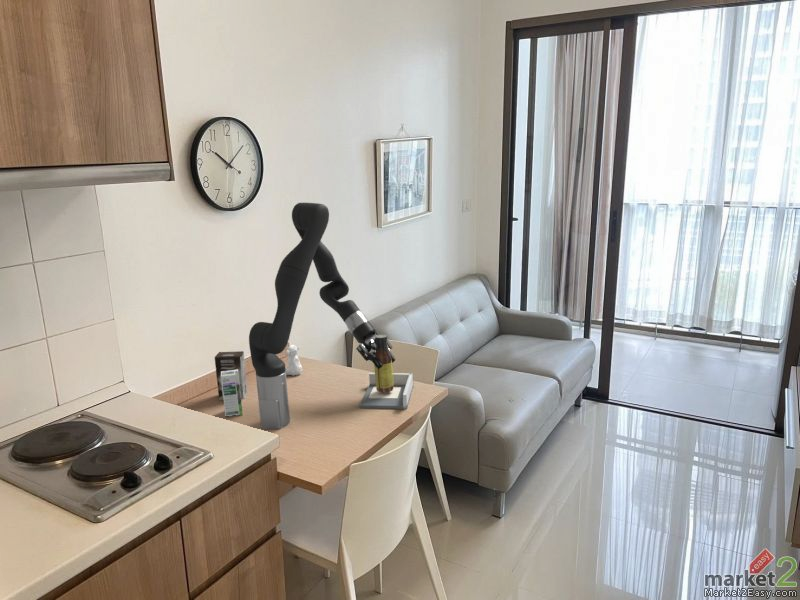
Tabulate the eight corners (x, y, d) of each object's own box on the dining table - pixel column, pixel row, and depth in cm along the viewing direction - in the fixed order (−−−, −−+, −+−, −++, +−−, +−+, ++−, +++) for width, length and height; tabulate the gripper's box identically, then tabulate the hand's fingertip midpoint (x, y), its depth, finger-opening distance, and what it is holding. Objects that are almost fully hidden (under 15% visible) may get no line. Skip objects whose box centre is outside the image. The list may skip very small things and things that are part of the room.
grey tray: (406, 408, 198) (406, 394, 197) (359, 407, 200) (359, 394, 199) (413, 386, 217) (412, 373, 216) (370, 385, 219) (369, 372, 218)
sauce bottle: (397, 389, 210) (395, 335, 205) (386, 394, 205) (384, 339, 200) (382, 385, 213) (380, 332, 209) (371, 391, 209) (369, 337, 204)
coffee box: (218, 400, 211) (213, 357, 207) (223, 393, 217) (218, 351, 213) (244, 399, 211) (239, 356, 207) (248, 392, 217) (243, 350, 214)
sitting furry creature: (296, 367, 241) (293, 339, 239) (310, 372, 236) (307, 343, 233) (277, 374, 235) (274, 345, 232) (291, 379, 229) (288, 349, 226)
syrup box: (224, 417, 196) (220, 376, 193) (225, 410, 202) (220, 370, 198) (242, 415, 198) (238, 374, 194) (242, 408, 203) (238, 368, 200)
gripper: (351, 325, 202) (379, 364, 198) (378, 316, 213) (405, 352, 209) (341, 338, 207) (368, 376, 203) (367, 328, 218) (394, 364, 214)
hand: (387, 364), depth 206 cm, fingers open, 6 cm apart
